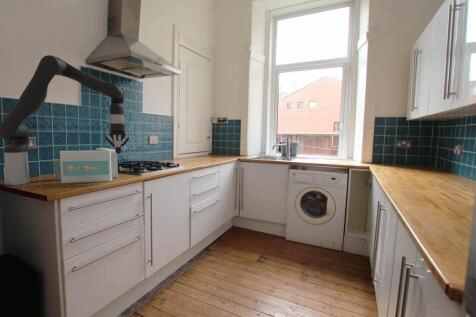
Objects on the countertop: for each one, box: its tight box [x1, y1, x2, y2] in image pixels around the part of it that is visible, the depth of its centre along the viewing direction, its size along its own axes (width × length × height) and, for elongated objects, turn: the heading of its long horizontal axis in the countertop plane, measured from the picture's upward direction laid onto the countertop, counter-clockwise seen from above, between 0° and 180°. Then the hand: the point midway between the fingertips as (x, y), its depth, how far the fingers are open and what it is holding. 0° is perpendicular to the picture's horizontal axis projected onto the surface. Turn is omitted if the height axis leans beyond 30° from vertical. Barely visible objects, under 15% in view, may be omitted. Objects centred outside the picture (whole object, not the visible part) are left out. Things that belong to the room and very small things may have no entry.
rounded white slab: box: [95, 147, 119, 179], centre depth 161 cm, size 29×8×18 cm, turn 44°
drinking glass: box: [53, 158, 61, 181], centre depth 146 cm, size 10×10×12 cm
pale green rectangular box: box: [59, 150, 113, 184], centre depth 136 cm, size 25×13×18 cm, turn 108°
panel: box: [63, 160, 110, 176], centre depth 132 cm, size 22×1×8 cm, turn 108°
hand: (118, 153), depth 137 cm, fingers closed
